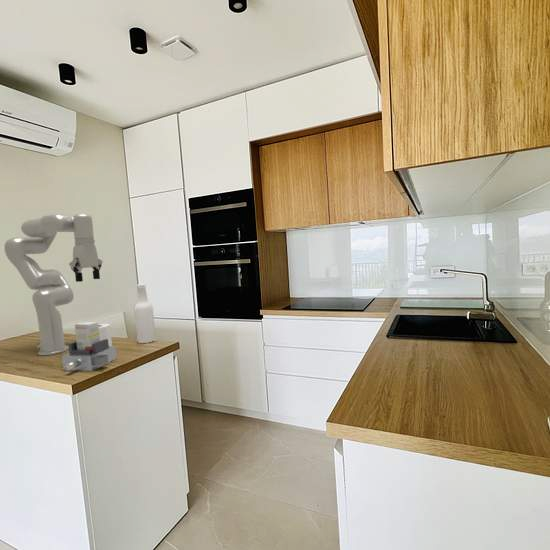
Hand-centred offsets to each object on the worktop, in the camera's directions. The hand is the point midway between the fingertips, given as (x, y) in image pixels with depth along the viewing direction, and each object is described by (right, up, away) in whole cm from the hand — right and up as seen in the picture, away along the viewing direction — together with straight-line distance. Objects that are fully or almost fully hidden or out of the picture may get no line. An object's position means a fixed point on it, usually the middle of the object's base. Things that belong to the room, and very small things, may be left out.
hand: (88, 280), depth 148 cm
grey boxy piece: (+8, -36, -12) cm, 39 cm away
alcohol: (+18, -32, +21) cm, 43 cm away
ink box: (+6, -30, -10) cm, 32 cm away
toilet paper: (0, -35, +10) cm, 36 cm away
